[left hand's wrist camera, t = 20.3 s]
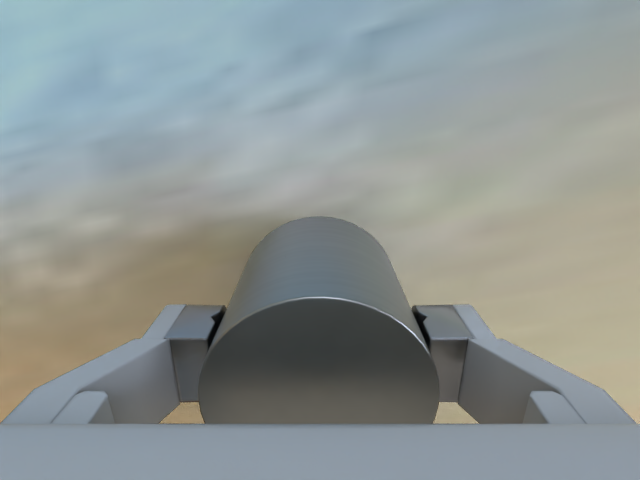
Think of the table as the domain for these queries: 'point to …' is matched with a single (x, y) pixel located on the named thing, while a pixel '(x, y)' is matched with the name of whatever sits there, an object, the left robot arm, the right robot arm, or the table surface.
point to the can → (318, 336)
